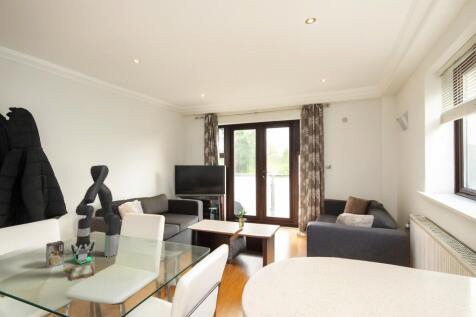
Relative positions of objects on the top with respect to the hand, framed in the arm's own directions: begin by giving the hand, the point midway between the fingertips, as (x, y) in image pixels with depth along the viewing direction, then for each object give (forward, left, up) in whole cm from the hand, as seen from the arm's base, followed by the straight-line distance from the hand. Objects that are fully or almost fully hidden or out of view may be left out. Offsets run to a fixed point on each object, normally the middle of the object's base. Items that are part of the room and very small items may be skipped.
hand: (82, 258), depth 165 cm
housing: (0, 0, -1) cm, 1 cm away
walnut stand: (0, 0, -11) cm, 11 cm away
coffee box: (+15, -22, -11) cm, 29 cm away
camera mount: (-2, -21, -11) cm, 23 cm away
